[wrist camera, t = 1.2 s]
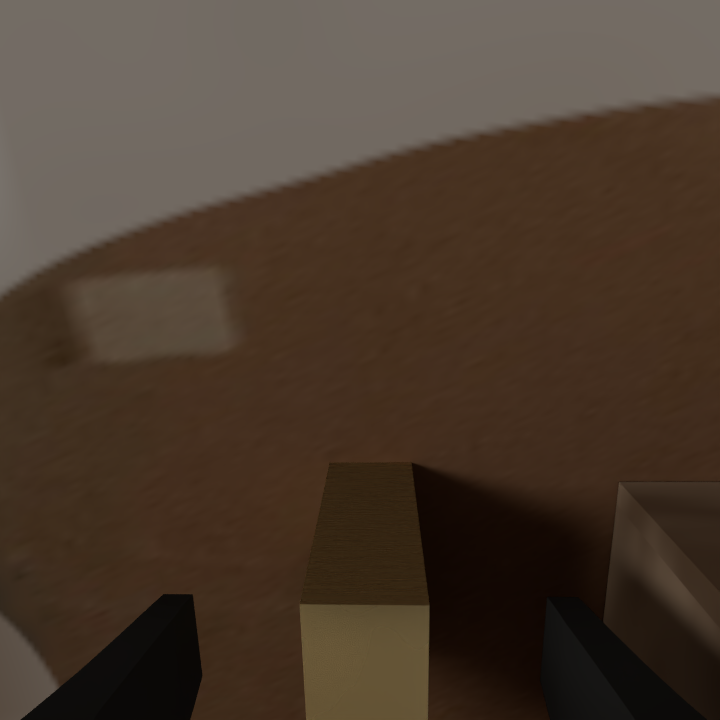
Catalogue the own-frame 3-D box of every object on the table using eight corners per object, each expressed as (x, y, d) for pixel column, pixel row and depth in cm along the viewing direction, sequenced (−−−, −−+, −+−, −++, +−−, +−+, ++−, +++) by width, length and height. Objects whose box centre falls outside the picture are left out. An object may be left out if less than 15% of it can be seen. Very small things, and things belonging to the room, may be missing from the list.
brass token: (410, 632, 14) (425, 845, 9) (336, 632, 14) (313, 842, 9) (411, 461, 13) (429, 605, 8) (329, 462, 13) (299, 604, 8)
